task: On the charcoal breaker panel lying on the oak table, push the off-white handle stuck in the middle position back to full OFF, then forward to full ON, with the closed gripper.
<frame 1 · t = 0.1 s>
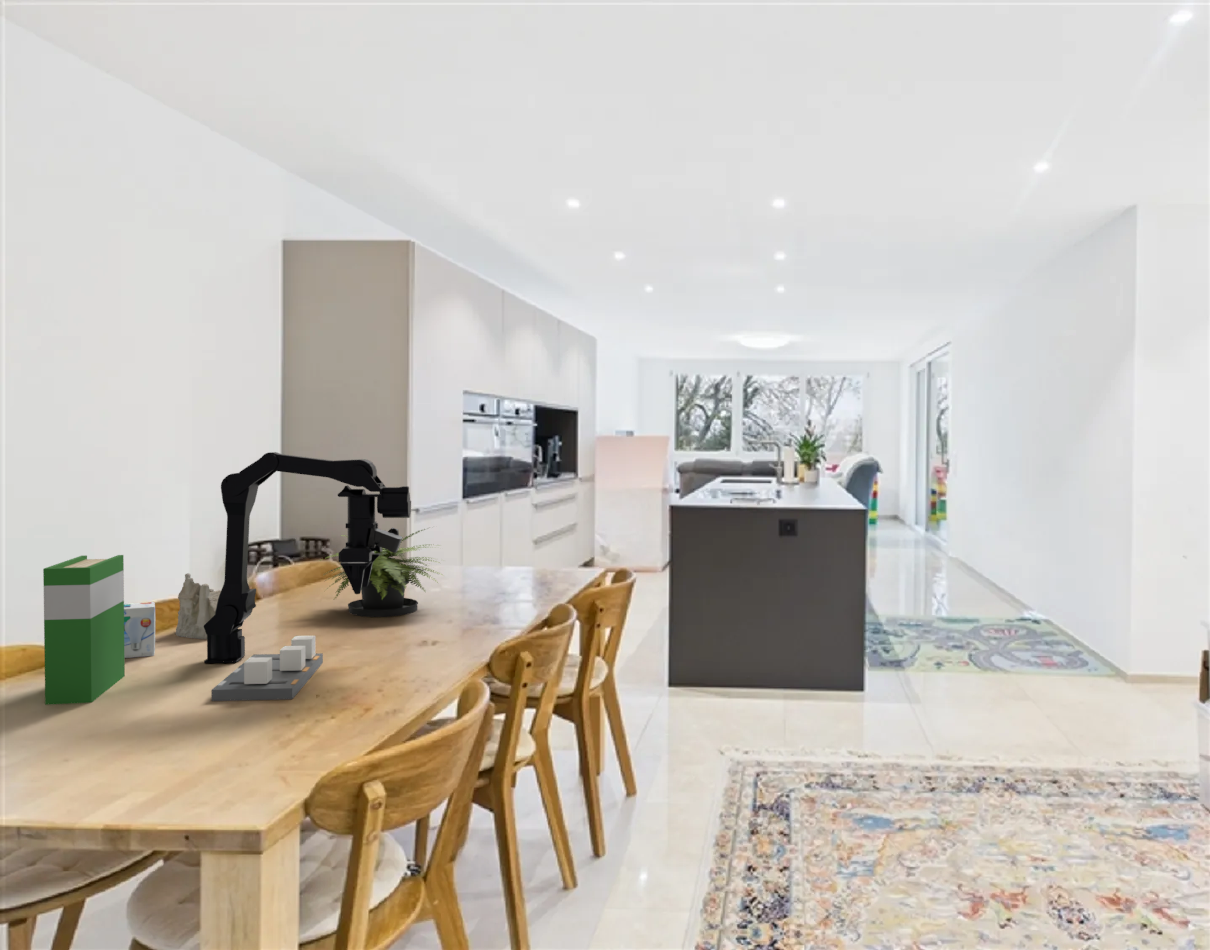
hand: (361, 590, 188), 15 cm above the table, fingers open, 9 cm apart
fern plant: (383, 610, 241), on the table
tripped handle: (258, 670, 161), point 4 cm above the table, slide at 4.0 cm
breaker panel: (271, 680, 170), on the table
light bulb box: (127, 655, 189), on the table
hardback book: (87, 690, 163), on the table
handle far: (303, 647, 179), point 4 cm above the table, slide at 8.0 cm
grey rough lump: (212, 632, 213), on the table
handle mid: (292, 658, 170), point 4 cm above the table, slide at 8.0 cm
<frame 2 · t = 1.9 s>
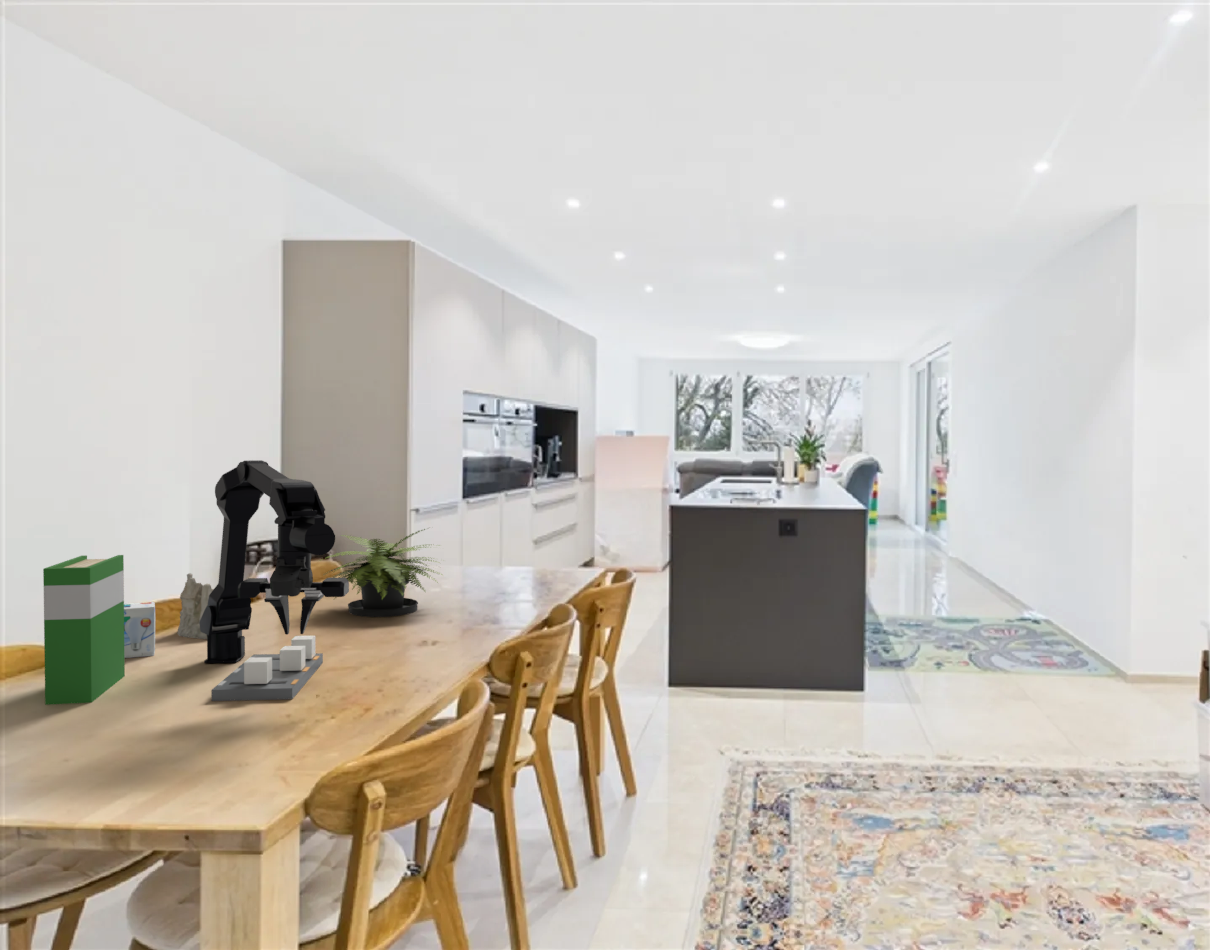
hand: (294, 633, 161), 11 cm above the table, fingers closed
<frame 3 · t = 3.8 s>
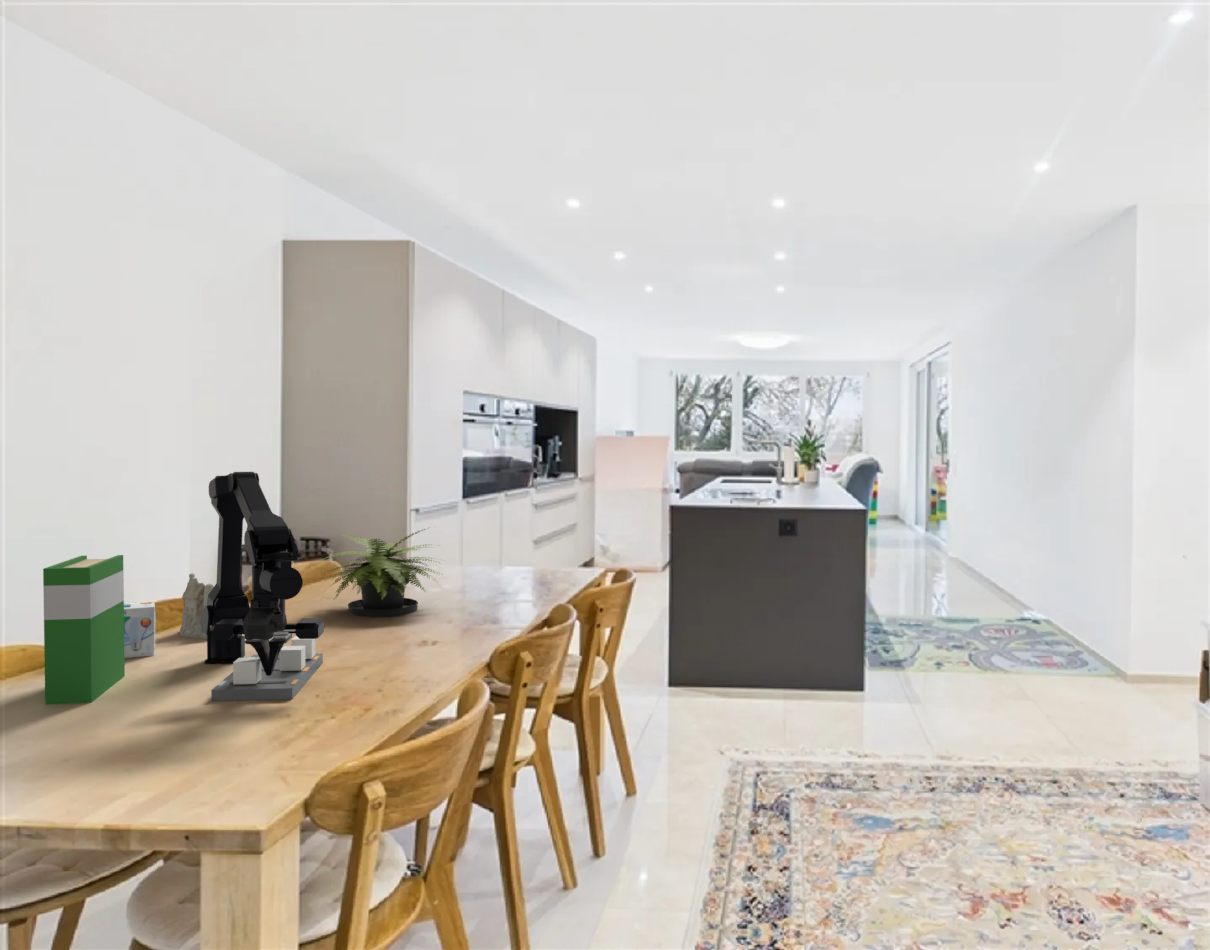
hand: (269, 675, 161), 3 cm above the table, fingers closed
tripped handle: (247, 670, 161), point 4 cm above the table, slide at 2.1 cm, touching gripper
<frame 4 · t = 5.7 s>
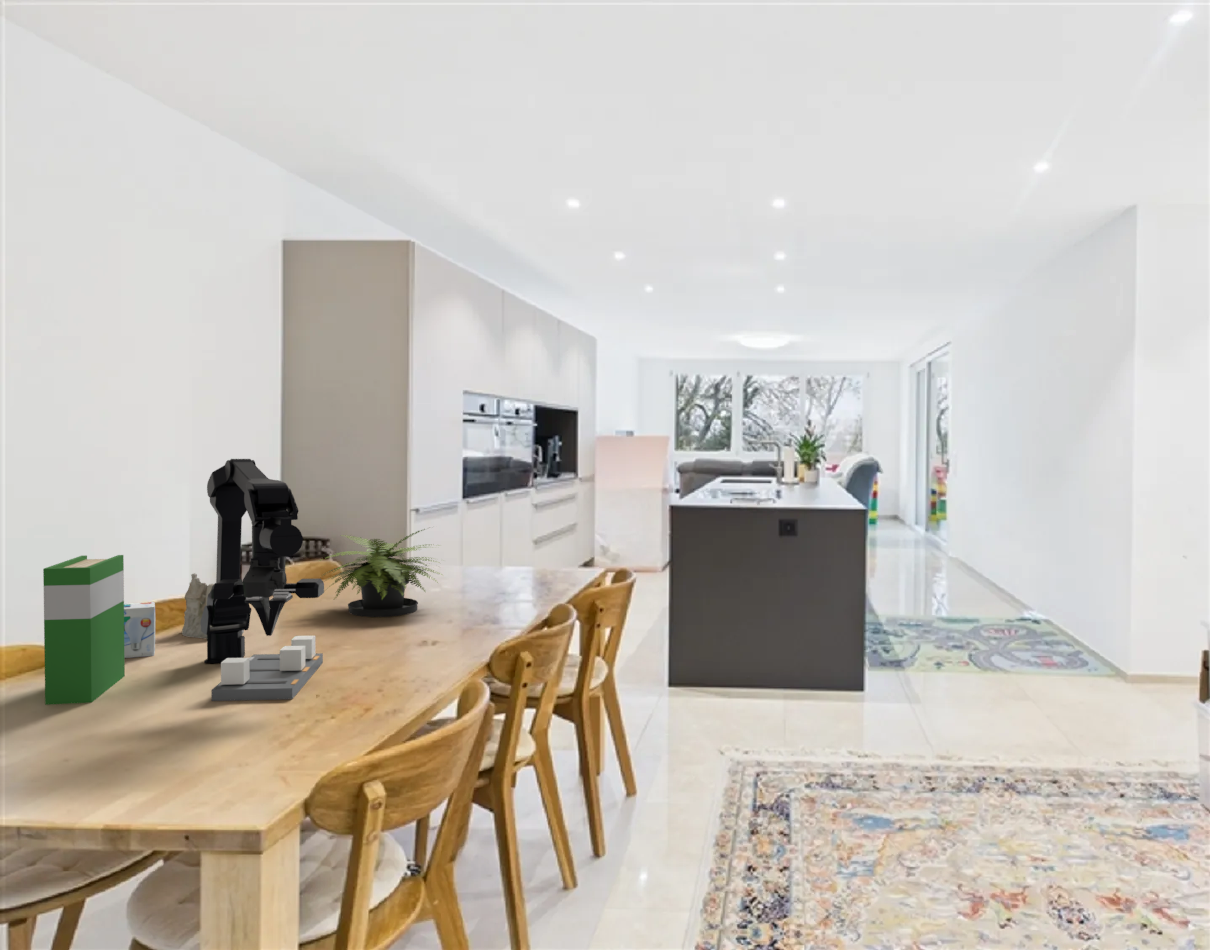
hand: (269, 635, 161), 11 cm above the table, fingers closed
tripped handle: (235, 670, 160), point 4 cm above the table, slide at -0.1 cm
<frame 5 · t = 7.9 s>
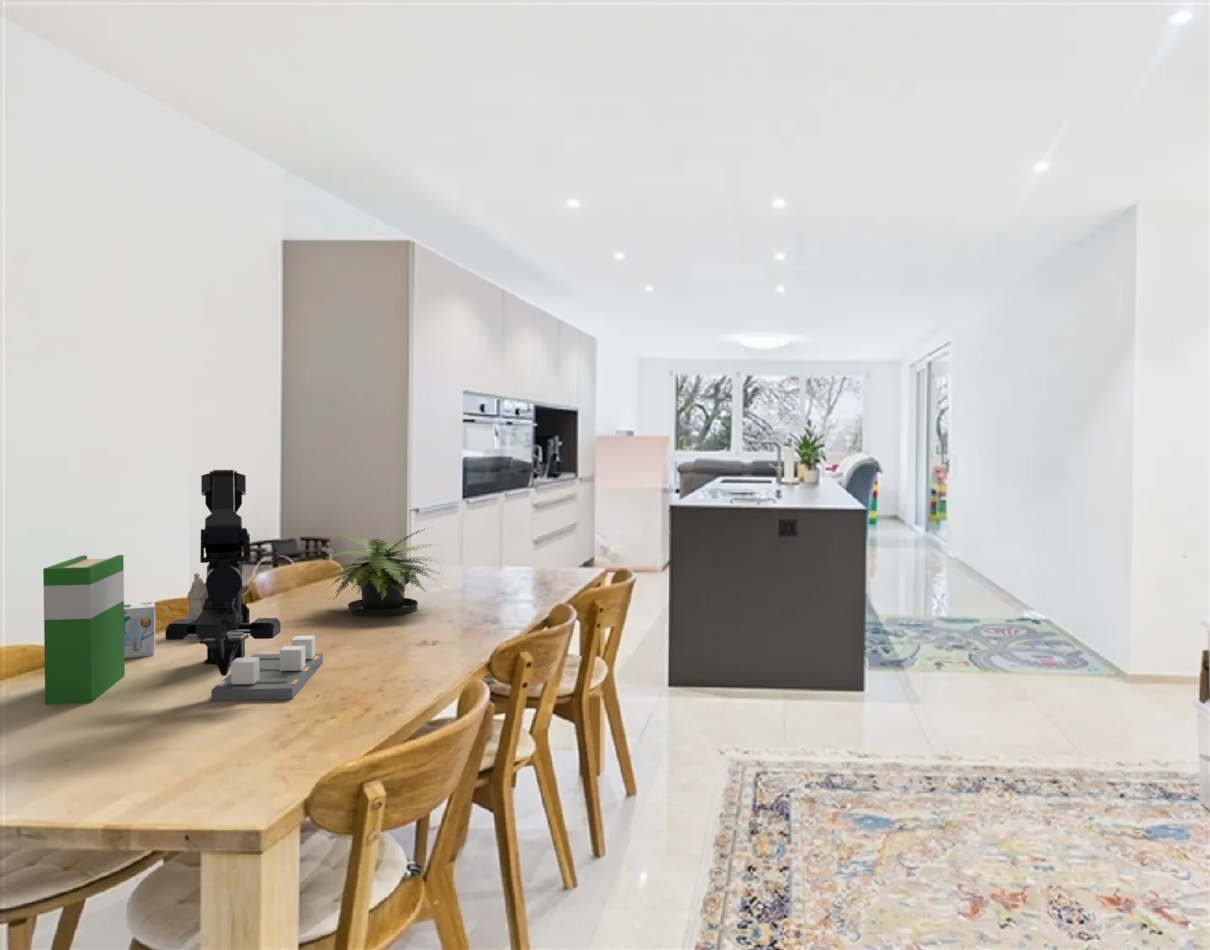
hand: (224, 675, 160), 4 cm above the table, fingers closed
tripped handle: (245, 670, 161), point 4 cm above the table, slide at 1.7 cm, touching gripper
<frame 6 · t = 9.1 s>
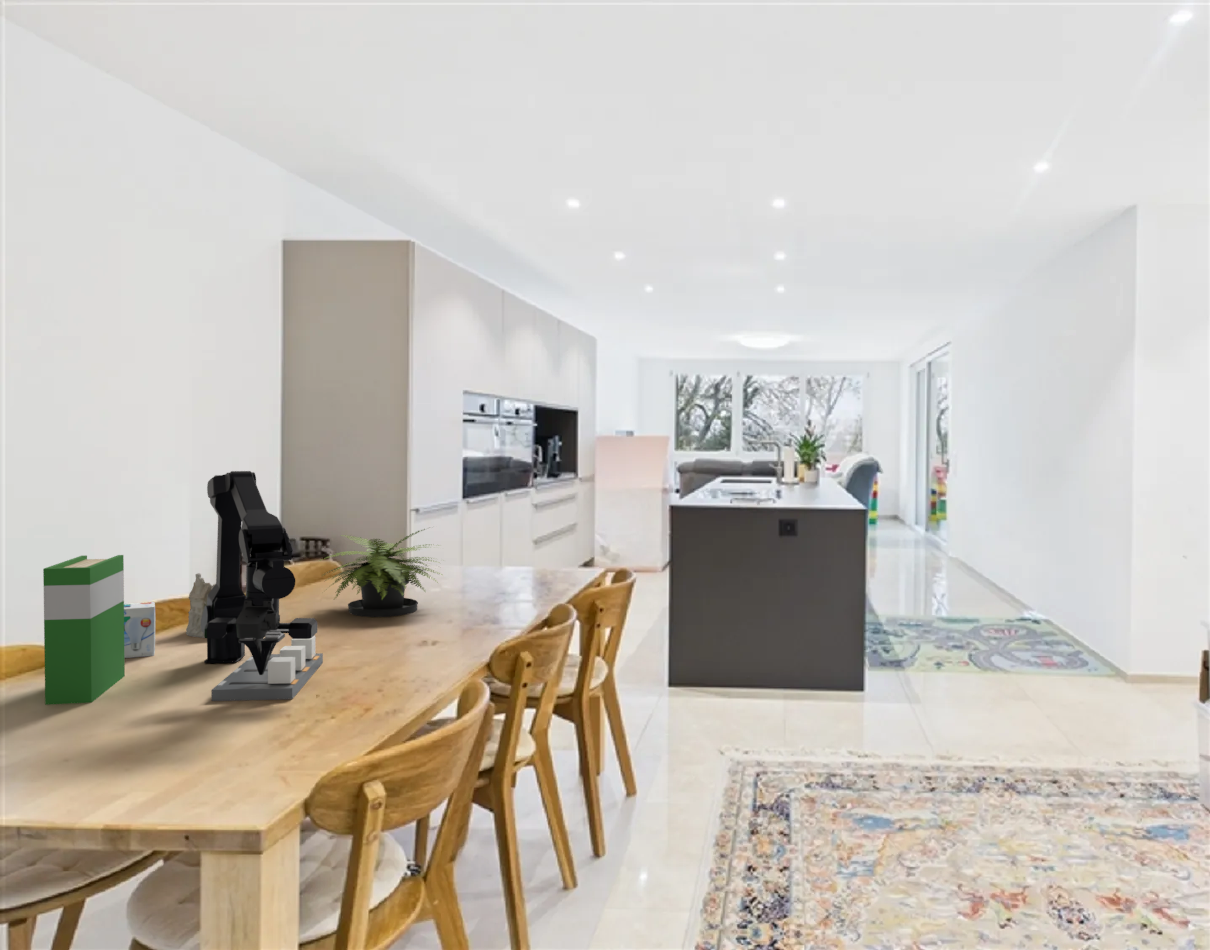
hand: (261, 674, 161), 4 cm above the table, fingers closed
tripped handle: (281, 670, 161), point 4 cm above the table, slide at 8.2 cm, touching gripper
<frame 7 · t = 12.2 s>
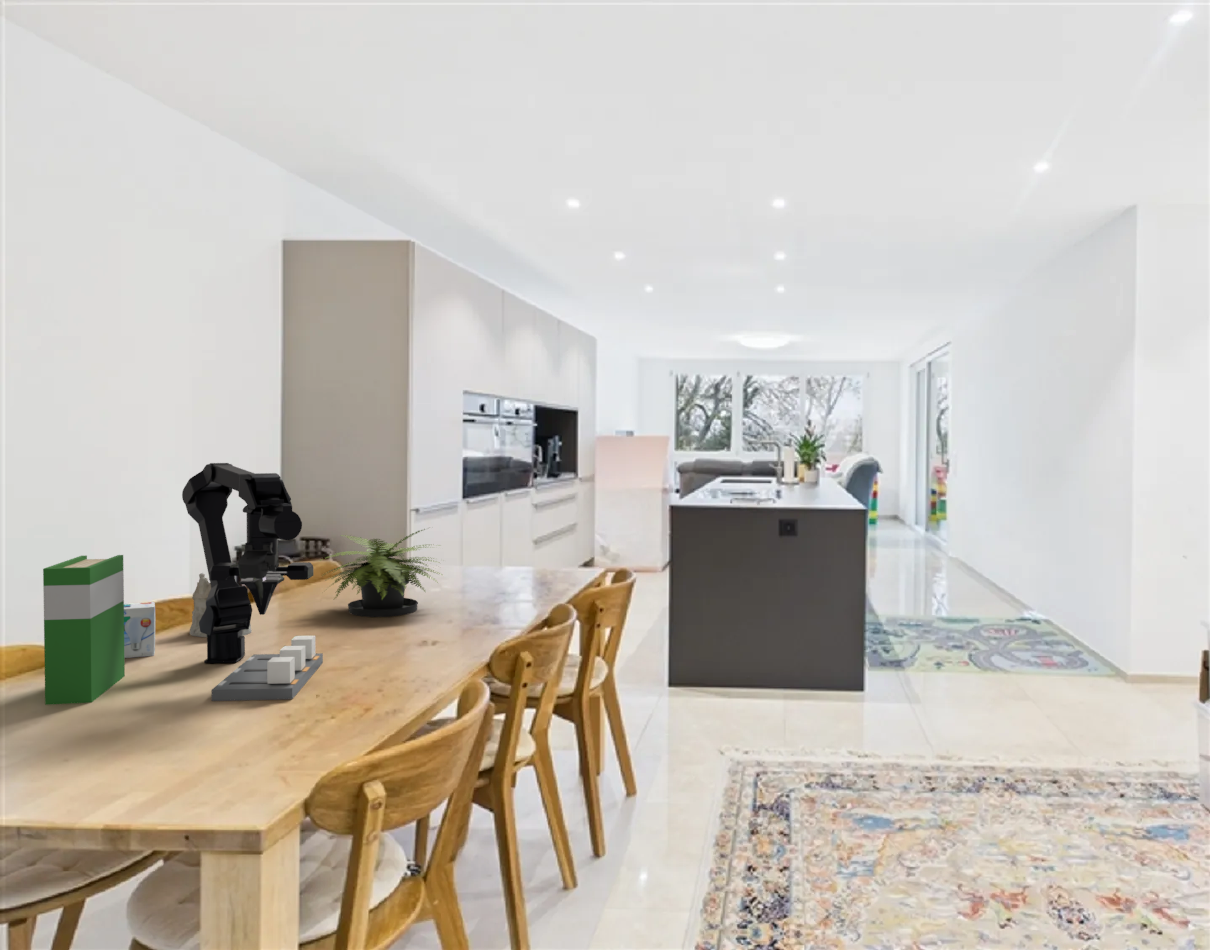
hand: (262, 614, 174), 12 cm above the table, fingers closed
tripped handle: (281, 670, 161), point 4 cm above the table, slide at 8.1 cm
at the end: tripped handle slide at 8.1 cm; handle mid slide at 8.0 cm; handle far slide at 8.0 cm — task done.
